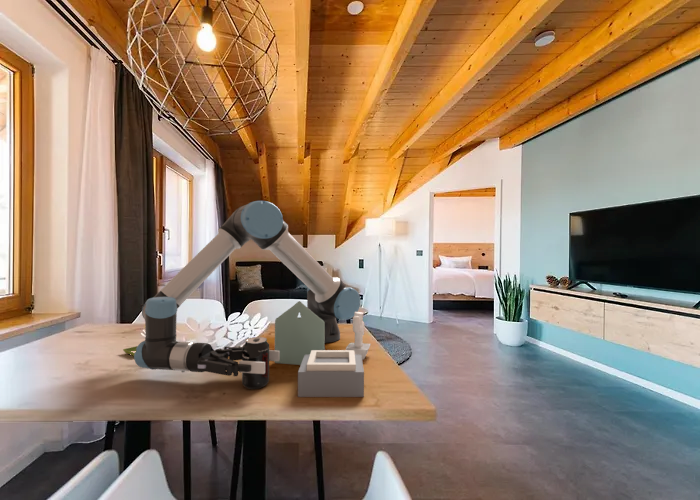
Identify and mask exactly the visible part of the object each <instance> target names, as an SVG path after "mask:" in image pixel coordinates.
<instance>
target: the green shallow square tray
mask: <svg viewBox="0 0 700 500" xmlns="http://www.w3.org/2000/svg"><path fill="white" fill-rule="evenodd" d="M137 346H138V345H136V346H132V347H127V348H123V349H122V350H123V352H124V353H125V354H127V353H128V354H131V355H133V356H132V357H134V354H135V353H133V352H131V351H136V348H137ZM128 354H127V355H128ZM131 355H130V356H131Z"/></svg>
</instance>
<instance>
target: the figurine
mask: <svg viewBox="0 0 700 500" xmlns="http://www.w3.org/2000/svg"><path fill="white" fill-rule="evenodd" d="M363 318H364V312H362V311H358V312H354V317H352V331H353V333H354V342H349V343H348V345H347V346H346V347H345V350H354V352H355V355H361V357H362V360H365V358H366V357H367V355H368V352H369V349H370V347H371V343H364V342H363V338H364V337H363V336H364V335H365V322H364V321H363V320H364V319H363Z"/></svg>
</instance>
